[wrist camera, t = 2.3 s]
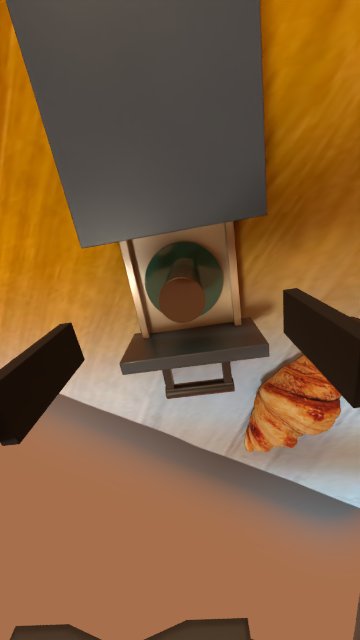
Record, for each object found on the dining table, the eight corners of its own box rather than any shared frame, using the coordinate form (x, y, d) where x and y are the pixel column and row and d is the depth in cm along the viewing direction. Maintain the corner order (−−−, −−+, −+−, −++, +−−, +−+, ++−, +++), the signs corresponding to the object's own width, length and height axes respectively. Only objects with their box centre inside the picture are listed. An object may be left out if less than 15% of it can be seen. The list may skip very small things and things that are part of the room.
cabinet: (242, 219, 26) (267, 214, 18) (113, 242, 28) (81, 248, 19) (226, -9, 20) (254, -180, 12) (60, 36, 21) (-22, -88, 13)
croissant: (254, 428, 42) (286, 476, 36) (213, 431, 36) (243, 488, 30) (340, 334, 34) (399, 374, 28) (305, 319, 28) (370, 365, 22)
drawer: (253, 366, 32) (271, 404, 25) (146, 379, 33) (135, 418, 26) (240, 158, 23) (261, 130, 16) (96, 188, 24) (61, 172, 18)
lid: (218, 234, 25) (229, 237, 18) (226, 312, 28) (238, 340, 21) (137, 249, 26) (118, 257, 19) (154, 322, 29) (142, 353, 22)
